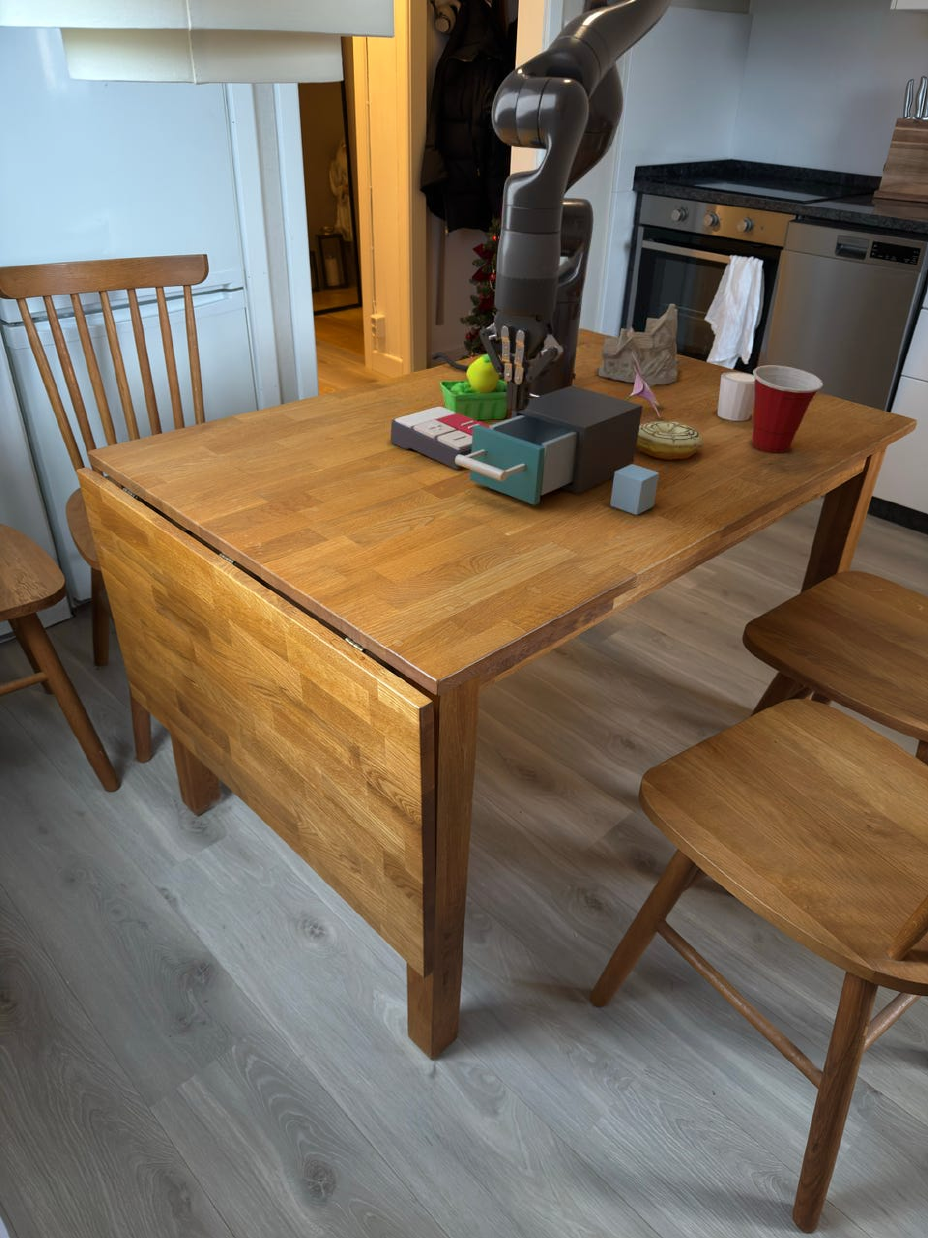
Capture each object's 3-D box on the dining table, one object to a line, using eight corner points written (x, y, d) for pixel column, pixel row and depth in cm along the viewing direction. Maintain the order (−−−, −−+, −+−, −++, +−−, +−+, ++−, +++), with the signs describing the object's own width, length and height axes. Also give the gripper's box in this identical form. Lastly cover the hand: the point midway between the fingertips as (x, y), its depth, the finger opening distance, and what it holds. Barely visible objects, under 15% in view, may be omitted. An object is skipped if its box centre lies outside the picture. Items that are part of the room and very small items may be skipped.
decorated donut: (713, 453, 144) (717, 430, 142) (672, 467, 137) (676, 444, 136) (661, 434, 150) (665, 412, 148) (620, 447, 144) (623, 424, 142)
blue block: (609, 505, 124) (614, 471, 122) (626, 496, 127) (631, 463, 124) (636, 515, 122) (642, 481, 119) (653, 506, 125) (659, 472, 122)
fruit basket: (498, 406, 159) (503, 342, 153) (516, 423, 152) (522, 356, 146) (437, 410, 156) (439, 344, 150) (452, 427, 148) (455, 359, 143)
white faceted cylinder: (757, 422, 158) (765, 383, 154) (718, 420, 158) (726, 381, 154) (747, 410, 164) (755, 372, 160) (710, 408, 164) (717, 370, 160)
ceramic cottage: (684, 367, 186) (692, 292, 178) (670, 391, 173) (678, 311, 165) (610, 361, 191) (615, 288, 183) (591, 384, 178) (595, 306, 170)
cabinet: (577, 494, 127) (585, 427, 122) (507, 468, 134) (512, 404, 129) (633, 467, 137) (642, 405, 132) (565, 445, 144) (572, 385, 139)
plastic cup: (766, 462, 142) (784, 387, 135) (724, 439, 150) (739, 367, 144) (819, 455, 145) (839, 382, 139) (775, 432, 154) (792, 363, 148)
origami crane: (641, 434, 153) (676, 386, 149) (588, 394, 156) (621, 346, 152) (657, 435, 164) (690, 391, 160) (607, 398, 166) (638, 353, 163)
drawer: (508, 516, 117) (513, 459, 113) (443, 490, 124) (445, 435, 119) (591, 478, 130) (598, 426, 126) (528, 456, 136) (533, 406, 132)
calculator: (459, 447, 130) (390, 415, 138) (457, 474, 133) (389, 441, 141) (509, 431, 137) (440, 401, 145) (506, 457, 140) (438, 426, 148)
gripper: (590, 275, 106) (574, 416, 115) (506, 257, 114) (497, 391, 123) (551, 282, 102) (537, 429, 111) (466, 263, 109) (459, 402, 118)
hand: (516, 409), depth 117 cm, fingers closed
